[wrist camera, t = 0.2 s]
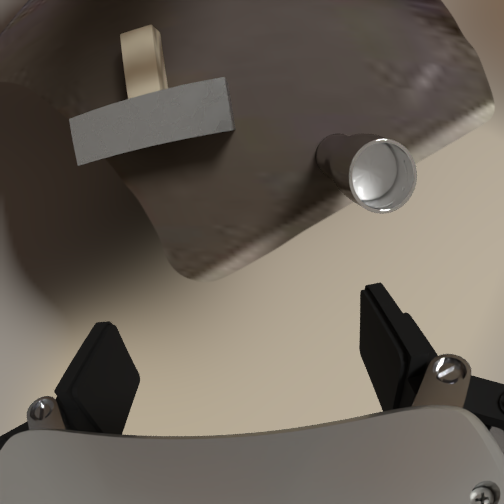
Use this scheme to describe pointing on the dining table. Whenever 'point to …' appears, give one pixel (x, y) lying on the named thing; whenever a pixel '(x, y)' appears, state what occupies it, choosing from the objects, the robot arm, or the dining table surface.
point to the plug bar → (143, 61)
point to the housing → (153, 120)
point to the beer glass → (369, 170)
